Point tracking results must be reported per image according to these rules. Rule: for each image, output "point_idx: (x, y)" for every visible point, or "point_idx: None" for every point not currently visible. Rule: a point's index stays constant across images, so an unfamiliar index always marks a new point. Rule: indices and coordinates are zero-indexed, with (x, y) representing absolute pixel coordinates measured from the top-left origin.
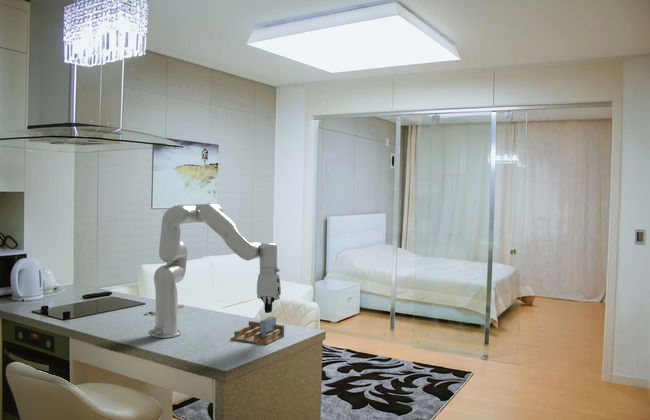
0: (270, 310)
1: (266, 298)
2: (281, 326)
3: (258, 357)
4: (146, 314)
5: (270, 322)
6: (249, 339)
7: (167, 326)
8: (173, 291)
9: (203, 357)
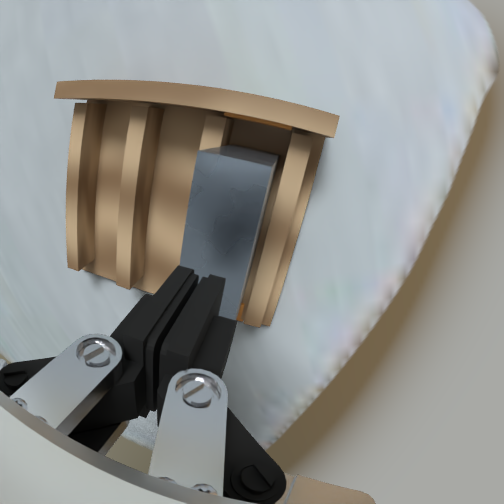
0: (228, 354)
1: (62, 398)
2: (318, 132)
3: (279, 430)
4: None
5: (248, 268)
6: (161, 282)
7: None
8: None
9: (129, 422)
